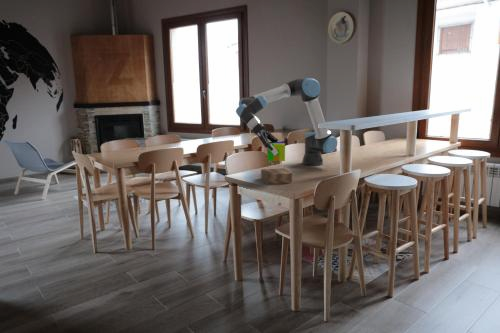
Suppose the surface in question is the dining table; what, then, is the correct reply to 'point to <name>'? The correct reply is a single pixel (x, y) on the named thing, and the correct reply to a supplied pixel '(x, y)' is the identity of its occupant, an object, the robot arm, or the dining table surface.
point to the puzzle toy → (280, 155)
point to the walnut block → (276, 176)
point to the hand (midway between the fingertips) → (279, 152)
